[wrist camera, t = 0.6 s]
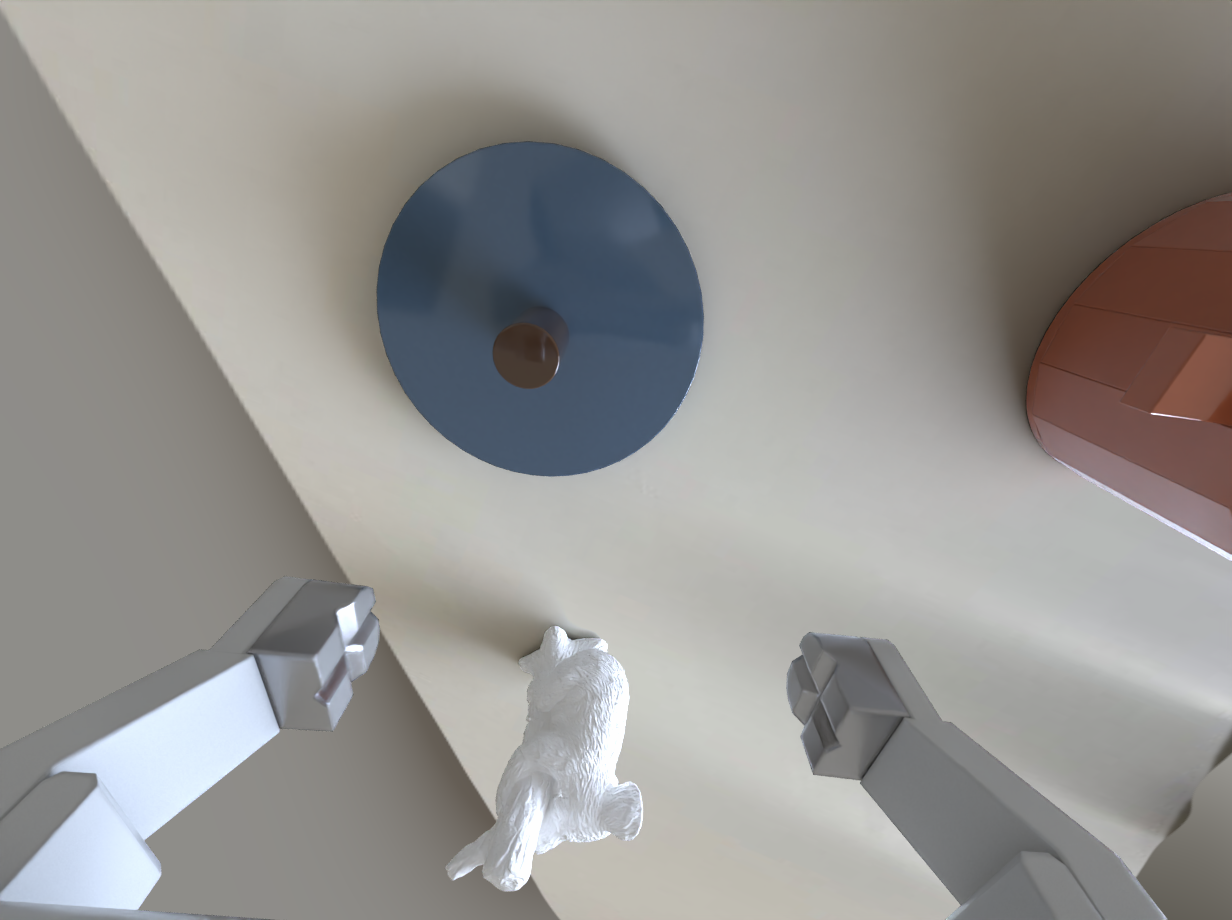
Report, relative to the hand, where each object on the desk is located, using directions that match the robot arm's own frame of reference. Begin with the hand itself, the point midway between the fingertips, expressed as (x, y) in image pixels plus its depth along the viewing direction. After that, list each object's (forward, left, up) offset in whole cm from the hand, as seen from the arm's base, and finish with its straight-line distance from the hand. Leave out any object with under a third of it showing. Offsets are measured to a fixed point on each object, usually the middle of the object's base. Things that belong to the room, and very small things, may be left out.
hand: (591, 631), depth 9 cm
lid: (-2, -3, -14) cm, 14 cm away
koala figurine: (+18, 0, -15) cm, 23 cm away
